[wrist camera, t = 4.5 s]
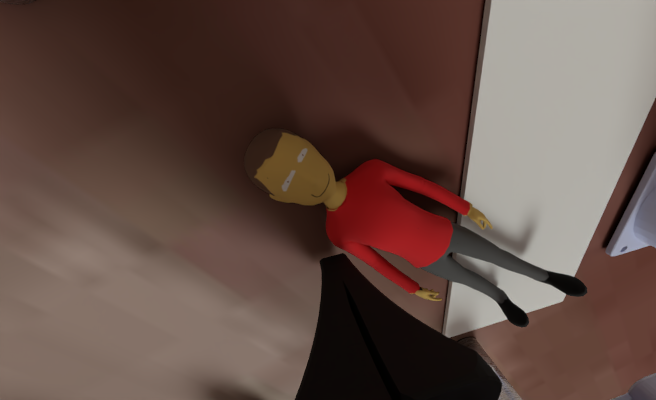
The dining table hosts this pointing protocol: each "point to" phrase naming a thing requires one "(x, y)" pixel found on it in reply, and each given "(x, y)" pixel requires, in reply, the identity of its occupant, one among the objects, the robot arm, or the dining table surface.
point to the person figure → (389, 218)
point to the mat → (549, 138)
